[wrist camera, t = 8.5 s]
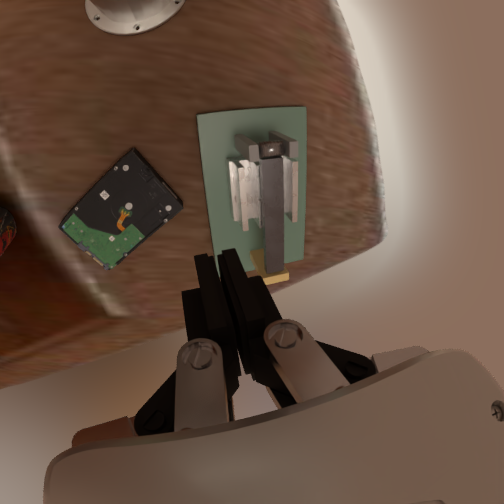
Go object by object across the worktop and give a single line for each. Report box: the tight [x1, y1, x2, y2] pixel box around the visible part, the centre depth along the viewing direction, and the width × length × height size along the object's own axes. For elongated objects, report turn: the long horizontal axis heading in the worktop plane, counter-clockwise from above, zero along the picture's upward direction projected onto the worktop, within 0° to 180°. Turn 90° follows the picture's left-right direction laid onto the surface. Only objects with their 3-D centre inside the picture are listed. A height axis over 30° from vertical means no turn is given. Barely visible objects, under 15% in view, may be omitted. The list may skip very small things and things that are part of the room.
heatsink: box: [226, 155, 298, 231], centre depth 36 cm, size 8×8×5 cm
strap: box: [257, 140, 285, 274], centre depth 34 cm, size 17×3×2 cm, turn 3°
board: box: [196, 106, 307, 285], centre depth 37 cm, size 24×14×8 cm, turn 3°
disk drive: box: [58, 148, 183, 270], centre depth 35 cm, size 10×3×15 cm
